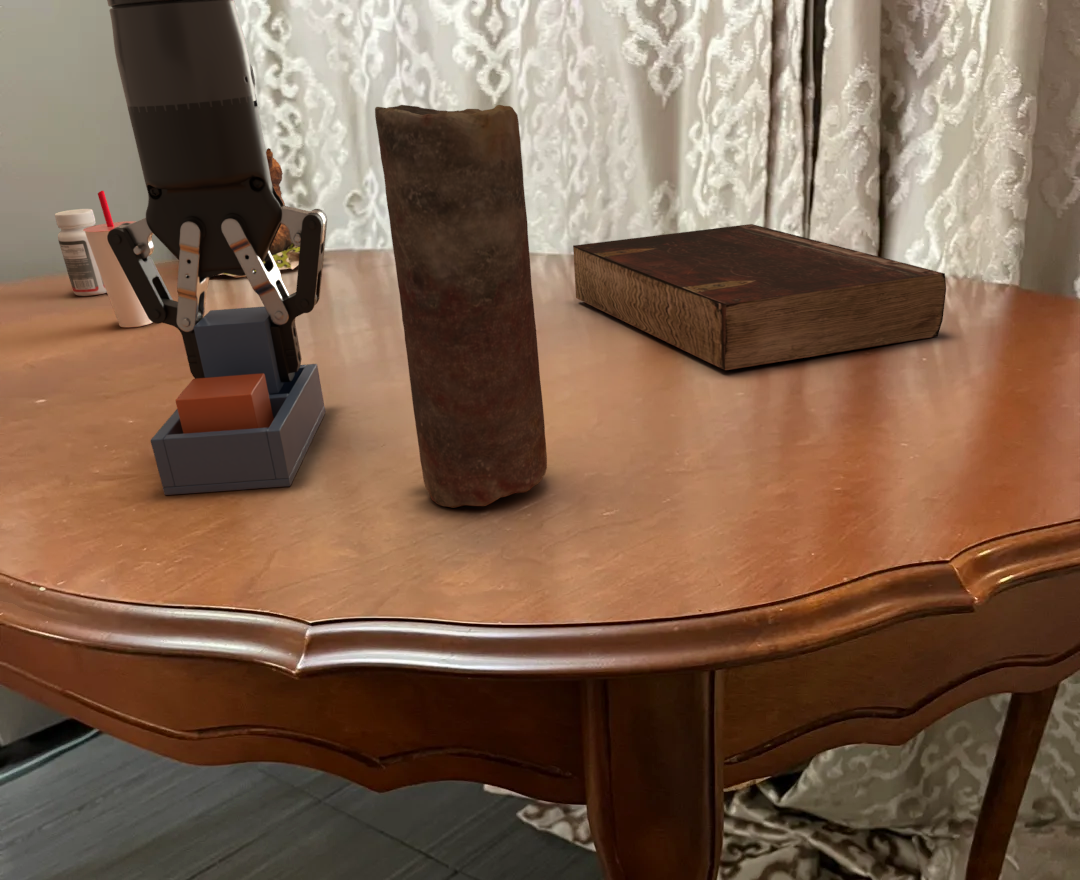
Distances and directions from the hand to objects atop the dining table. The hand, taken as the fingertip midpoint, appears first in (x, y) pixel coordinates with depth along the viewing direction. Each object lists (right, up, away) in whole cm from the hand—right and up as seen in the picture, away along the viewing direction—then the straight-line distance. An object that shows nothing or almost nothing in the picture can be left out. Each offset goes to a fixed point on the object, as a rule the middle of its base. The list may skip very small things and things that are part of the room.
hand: (250, 380), depth 75 cm
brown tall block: (+17, -9, -10) cm, 21 cm away
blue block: (0, 0, 0) cm, 0 cm away
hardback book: (+37, +11, +20) cm, 44 cm away
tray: (0, -5, -1) cm, 5 cm away
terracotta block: (0, -6, -4) cm, 8 cm away
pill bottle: (-30, +25, +50) cm, 64 cm away
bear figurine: (-14, +31, +57) cm, 66 cm away
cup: (-20, +16, +35) cm, 44 cm away
